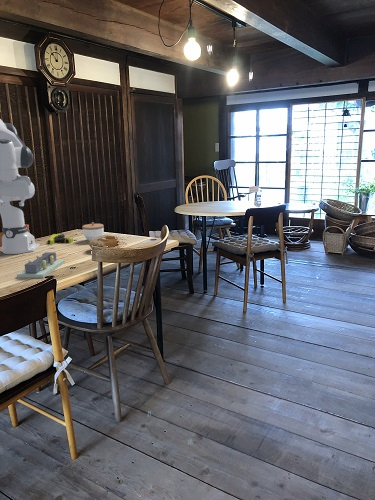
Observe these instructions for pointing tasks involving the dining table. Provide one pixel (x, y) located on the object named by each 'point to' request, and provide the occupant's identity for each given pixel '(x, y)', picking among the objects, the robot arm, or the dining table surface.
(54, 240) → the stun gun
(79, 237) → the dining table surface
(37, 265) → the grey long bar
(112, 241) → the nautilus
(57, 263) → the rack
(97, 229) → the lidded bowl
